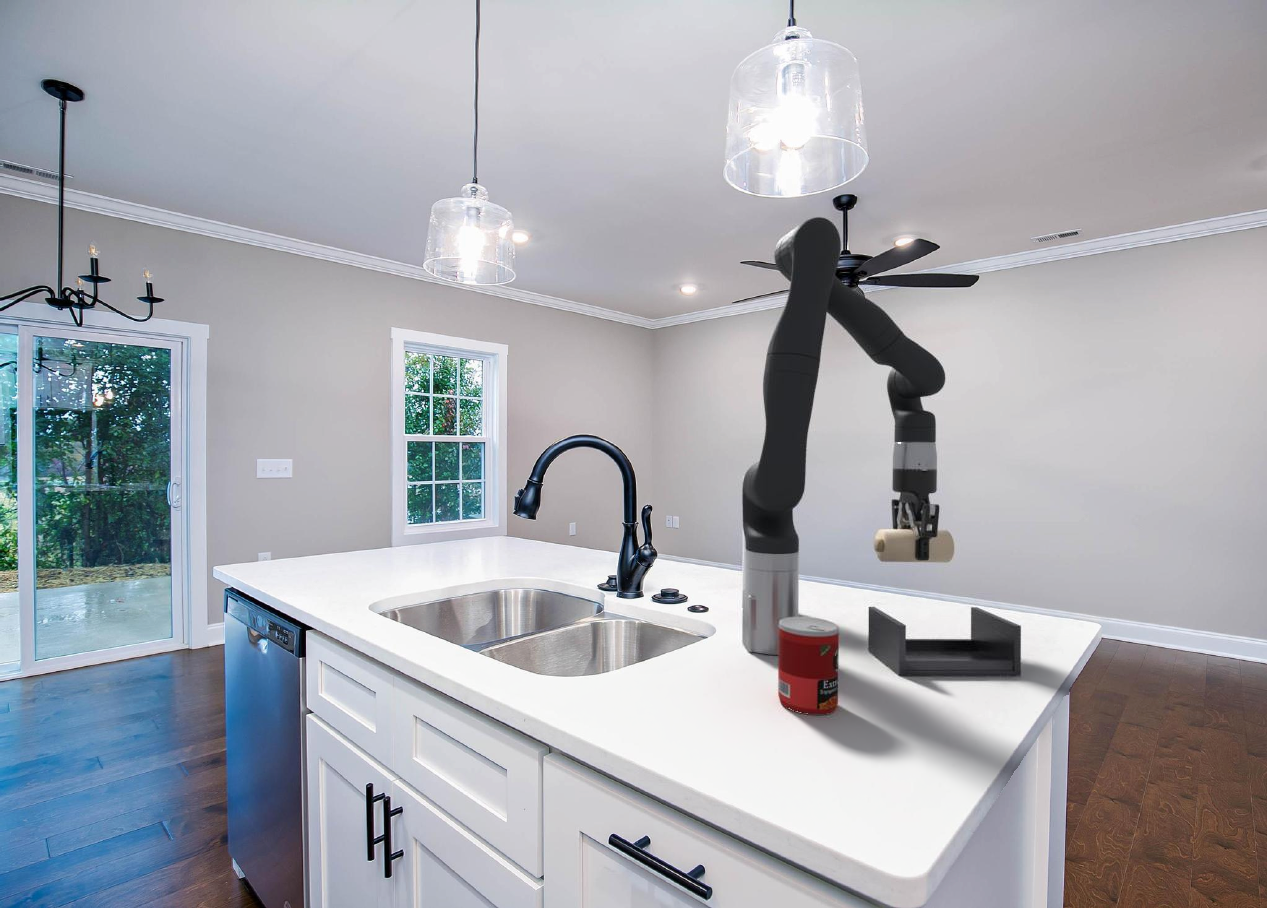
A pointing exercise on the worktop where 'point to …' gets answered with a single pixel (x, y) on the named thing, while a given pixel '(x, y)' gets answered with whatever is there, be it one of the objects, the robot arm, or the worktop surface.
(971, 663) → the roll holder
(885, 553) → the cylinder
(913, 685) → the worktop surface
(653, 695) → the worktop surface
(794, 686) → the canned food
